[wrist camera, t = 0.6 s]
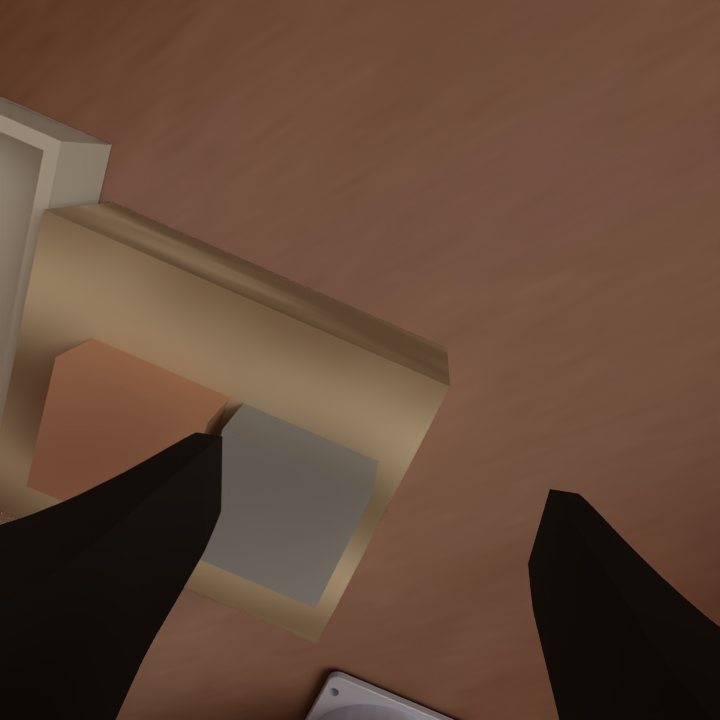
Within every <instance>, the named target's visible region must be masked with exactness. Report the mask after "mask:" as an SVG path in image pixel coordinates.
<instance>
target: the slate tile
mask: <svg viewBox="0 0 720 720" xmlns="http://www.w3.org/2000/svg"><path fill="white" fill-rule="evenodd" d="M221 436H223V437H222V498H221V513H220V516H219V518H218V521H217V523H216V526H215V528H214V531H213V533H212V536H211V538H210V540H209V543H208V545H207V547H206V549H205V552H204V553H203V555H202V557H201V559H200V560H202V561H204V562H207V563H209V564H212V565H214V566H216V567H219V568H221V569H223V570H226V571H228V572H230V573H233V574H235V575H238V576H240V577H242V578H245V579H247V580H249V581H252V582H254V583H256V584H259V585H261V586H263V587H266V588H268V589H271V590H273V591H275V592H278V593H280V594H282V595H285V596H287V597H289V598H292V599H294V600H297V601H299V602H301V603H304V604H306V605H308V606H311V607H313V608H316V606H317V604H318V602H319V600H320V598H321V596H322V594H323V592H324V590H325V588H326V586H327V584H328V582H329V580H330V578H331V576H332V574H333V572H334V570H335V568H336V566H337V564H338V562H339V560H340V558H341V556H342V554H343V552H344V550H345V548H346V546H347V544H348V542H349V540H350V538H351V536H352V534H353V532H354V530H355V528H356V526H357V524H358V522H359V520H360V518H361V516H362V514H363V512H364V510H365V508H366V506H367V504H368V502H369V500H370V498H371V496H372V494H373V490H374V485H375V479H376V473H377V467H378V462H379V461H376V460H374V459H372V458H369V457H367V456H365V455H363V454H360V453H358V452H356V451H353V450H351V449H349V448H346V447H344V446H342V445H339V444H337V443H335V442H332V441H330V440H328V439H325V438H323V437H321V436H318V435H316V434H314V433H311V432H309V431H307V430H304V429H302V428H300V427H298V426H295V425H293V424H291V423H288V422H286V421H284V420H281V419H279V418H277V417H274V416H272V415H270V414H267V413H265V412H263V411H260V410H258V409H256V408H253V407H251V406H249V405H246V404H244V403H243V404H242V406H241V407H240V408H239V409H238V411H237V412H236V413H235V414H234V416H233V417H232V418H231V419H230V421H229V422H228V423H227V425H226V426H225V427H224V428H223V430H222V433H221Z"/></svg>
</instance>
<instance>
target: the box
mask: <svg viewBox="0 0 720 720" xmlns="http://www.w3.org/2000/svg"><path fill="white" fill-rule="evenodd" d="M110 150H111V145H110V144H108V143H106V142H103V141H101V140H99V139H96V138H94V137H92V136H90V135H87V134H85V133H83V132H81V131H78V130H76V129H74V128H71V127H69V126H67V125H65V124H62V123H60V122H58V121H55V120H53V119H51V118H49V117H46V116H44V115H42V114H40V113H37V112H35V111H33V110H30V109H28V108H26V107H24V106H21V105H19V104H17V103H15V102H12V101H10V100H8V99H5V98H3V97H1V96H0V427H1V422H2V417H3V412H4V407H5V402H6V397H7V392H8V387H9V382H10V377H11V372H12V367H13V362H14V357H15V352H16V346H17V341H18V336H19V331H20V326H21V321H22V316H23V311H24V306H25V301H26V296H27V291H28V286H29V281H30V276H31V271H32V266H33V261H34V256H35V251H36V246H37V241H38V236H39V231H40V225H41V220H42V215H43V210H44V209H54V208H63V207H73V206H82V205H91V204H98V201H99V197H100V193H101V188H102V184H103V180H104V175H105V171H106V167H107V163H108V158H109V154H110Z"/></svg>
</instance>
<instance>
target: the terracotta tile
mask: <svg viewBox="0 0 720 720" xmlns="http://www.w3.org/2000/svg"><path fill="white" fill-rule="evenodd" d="M229 398H230V397H228V396H226V395H223V394H221V393H219V392H216V391H214V390H212V389H209V388H207V387H205V386H202V385H200V384H198V383H195V382H193V381H191V380H188V379H186V378H184V377H182V376H179V375H177V374H175V373H172V372H170V371H168V370H165V369H163V368H161V367H158V366H156V365H154V364H151V363H149V362H147V361H144V360H142V359H140V358H137V357H135V356H133V355H130V354H128V353H126V352H123V351H121V350H119V349H117V348H114V347H112V346H110V345H107V344H105V343H103V342H100V341H98V340H96V339H91V340H89V341H87V342H85V343H83V344H81V345H79V346H77V347H75V348H73V349H71V350H69V351H67V352H65V353H63V354H61V355H59V356H57V357H56V358H55V363H54V367H53V371H52V376H51V380H50V384H49V389H48V393H47V398H46V402H45V406H44V411H43V415H42V420H41V424H40V428H39V433H38V437H37V442H36V446H35V450H34V455H33V459H32V464H31V468H30V472H29V477H28V481H27V487H30V488H32V489H34V490H37V491H39V492H42V493H44V494H46V495H49V496H51V497H53V498H56V499H58V500H60V501H65V500H68V499H70V498H72V497H75V496H77V495H79V494H81V493H83V492H85V491H87V490H89V489H91V488H93V487H95V486H97V485H99V484H101V483H103V482H105V481H107V480H109V479H111V478H113V477H115V476H117V475H119V474H121V473H123V472H125V471H127V470H129V469H131V468H132V467H134V466H136V465H138V464H140V463H141V462H143V461H145V460H147V459H149V458H150V457H152V456H154V455H156V454H157V453H159V452H161V451H163V450H164V449H166V448H168V447H170V446H171V445H173V444H175V443H177V442H178V441H180V440H182V439H184V438H186V437H187V436H189V435H191V434H193V433H195V432H198V433H204V434H211V435H216V434H217V432H218V429H219V426H220V423H221V420H222V418H223V415H224V412H225V409H226V407H227V404H228V401H229Z"/></svg>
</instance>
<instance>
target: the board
mask: <svg viewBox="0 0 720 720" xmlns="http://www.w3.org/2000/svg"><path fill="white" fill-rule="evenodd" d="M91 339H96V340H98V341H100V342H103V343H105V344H107V345H110V346H112V347H114V348H117V349H119V350H121V351H123V352H126V353H128V354H130V355H133V356H135V357H137V358H140V359H142V360H144V361H147V362H149V363H151V364H154V365H156V366H158V367H161V368H163V369H165V370H168V371H170V372H172V373H175V374H177V375H179V376H182V377H184V378H186V379H188V380H191V381H193V382H195V383H198V384H200V385H202V386H205V387H207V388H209V389H212V390H214V391H216V392H219V393H221V394H223V395H226V396H228V397H230V398H229V401H228V404H227V407H226V409H225V412H224V415H223V418H222V420H221V423H220V426H219V429H218V432H217V434H216V435H217V436H221V433H222V430H223V428H224V427H225V426H226V425H227V423H228V422H229V421H230V419H231V418H232V417H233V416H234V414H235V413H236V412H237V411H238V409H239V408H240V407H241V406H242V404H243V403H244V404H246V405H249V406H251V407H253V408H256V409H258V410H260V411H263V412H265V413H267V414H270V415H272V416H274V417H277V418H279V419H281V420H284V421H286V422H288V423H291V424H293V425H295V426H298V427H300V428H302V429H304V430H307V431H309V432H311V433H314V434H316V435H318V436H321V437H323V438H325V439H328V440H330V441H332V442H335V443H337V444H339V445H342V446H344V447H346V448H349V449H351V450H353V451H356V452H358V453H360V454H363V455H365V456H367V457H369V458H372V459H374V460H376V461H379V462H378V467H377V473H376V479H375V485H374V490H373V494H372V496H371V498H370V500H369V502H368V504H367V506H366V508H365V510H364V512H363V514H362V516H361V518H360V520H359V522H358V524H357V526H356V528H355V530H354V532H353V534H352V536H351V538H350V540H349V542H348V544H347V546H346V548H345V550H344V552H343V554H342V556H341V558H340V560H339V562H338V564H337V566H336V568H335V570H334V572H333V574H332V576H331V578H330V580H329V582H328V584H327V586H326V588H325V590H324V592H323V594H322V596H321V598H320V600H319V602H318V604H317V606H316V608H313V607H311V606H308V605H306V604H304V603H301V602H299V601H297V600H294V599H292V598H289V597H287V596H285V595H282V594H280V593H278V592H275V591H273V590H271V589H268V588H266V587H263V586H261V585H259V584H256V583H254V582H252V581H249V580H247V579H245V578H242V577H240V576H238V575H235V574H233V573H230V572H228V571H226V570H223V569H221V568H219V567H216V566H214V565H212V564H209V563H207V562H204V561H202V560H199V562H198V564H197V566H196V567H195V569H194V571H193V573H192V574H191V576H190V578H189V580H188V581H187V583H186V585H185V586H184V588H186V589H188V590H191V591H193V592H196V593H198V594H200V595H203V596H205V597H207V598H210V599H212V600H214V601H217V602H219V603H222V604H224V605H226V606H229V607H231V608H233V609H236V610H238V611H241V612H243V613H245V614H248V615H250V616H252V617H255V618H257V619H260V620H262V621H264V622H267V623H269V624H271V625H274V626H276V627H278V628H281V629H283V630H286V631H288V632H290V633H293V634H295V635H297V636H300V637H302V638H305V639H307V640H309V641H312V642H314V643H316V644H317V643H318V641H319V639H320V637H321V635H322V633H323V631H324V629H325V627H326V625H327V623H328V621H329V619H330V618H331V616H332V614H333V612H334V610H335V608H336V606H337V604H338V602H339V600H340V598H341V596H342V594H343V592H344V590H345V589H346V587H347V585H348V583H349V581H350V579H351V577H352V575H353V573H354V571H355V569H356V567H357V565H358V563H359V562H360V560H361V558H362V556H363V554H364V552H365V550H366V548H367V546H368V544H369V542H370V540H371V538H372V536H373V535H374V533H375V531H376V529H377V527H378V525H379V523H380V521H381V519H382V517H383V515H384V513H385V511H386V509H387V508H388V506H389V504H390V502H391V500H392V498H393V496H394V494H395V492H396V490H397V488H398V486H399V484H400V482H401V481H402V479H403V477H404V475H405V473H406V471H407V469H408V467H409V465H410V463H411V461H412V459H413V457H414V455H415V453H416V452H417V450H418V448H419V446H420V444H421V442H422V440H423V438H424V436H425V434H426V432H427V430H428V428H429V426H430V425H431V423H432V421H433V419H434V417H435V415H436V413H437V411H438V409H439V407H440V405H441V403H442V401H443V399H444V398H445V396H446V394H447V392H448V390H449V388H450V379H449V369H448V358H447V349H446V348H444V347H441V346H439V345H437V344H435V343H432V342H430V341H428V340H425V339H423V338H421V337H419V336H416V335H414V334H412V333H409V332H407V331H405V330H403V329H400V328H398V327H396V326H393V325H391V324H389V323H387V322H384V321H382V320H380V319H377V318H375V317H373V316H371V315H368V314H366V313H364V312H361V311H359V310H357V309H355V308H352V307H350V306H348V305H345V304H343V303H341V302H339V301H336V300H334V299H332V298H329V297H327V296H325V295H323V294H320V293H318V292H316V291H313V290H311V289H309V288H306V287H304V286H302V285H300V284H297V283H295V282H293V281H290V280H288V279H286V278H284V277H281V276H279V275H277V274H274V273H272V272H270V271H268V270H265V269H263V268H261V267H258V266H256V265H254V264H252V263H249V262H247V261H245V260H242V259H240V258H238V257H236V256H233V255H231V254H229V253H226V252H224V251H222V250H220V249H217V248H215V247H213V246H210V245H208V244H206V243H204V242H201V241H199V240H197V239H194V238H192V237H190V236H187V235H185V234H183V233H181V232H178V231H176V230H174V229H171V228H169V227H167V226H165V225H162V224H160V223H158V222H155V221H153V220H151V219H149V218H146V217H144V216H142V215H139V214H137V213H135V212H133V211H130V210H128V209H126V208H123V207H121V206H119V205H117V204H114V203H112V202H110V203H101V204H91V205H82V206H73V207H63V208H54V209H44V210H43V215H42V220H41V225H40V231H39V236H38V241H37V246H36V251H35V256H34V261H33V266H32V271H31V276H30V281H29V286H28V291H27V296H26V301H25V306H24V311H23V316H22V321H21V326H20V331H19V336H18V341H17V346H16V352H15V357H14V362H13V367H12V372H11V377H10V382H9V387H8V392H7V397H6V402H5V407H4V412H3V417H2V422H1V427H0V510H1V511H4V512H6V513H8V514H11V515H13V516H15V517H18V518H23V517H25V516H28V515H31V514H34V513H36V512H39V511H41V510H44V509H46V508H49V507H51V506H54V505H56V504H59V503H61V502H63V501H60V500H58V499H56V498H53V497H51V496H49V495H46V494H44V493H42V492H39V491H37V490H34V489H32V488H30V487H27V481H28V477H29V472H30V468H31V464H32V459H33V455H34V450H35V446H36V442H37V437H38V433H39V428H40V424H41V420H42V415H43V411H44V406H45V402H46V398H47V393H48V389H49V384H50V380H51V376H52V371H53V367H54V363H55V358H56V357H57V356H59V355H61V354H63V353H65V352H67V351H69V350H71V349H73V348H75V347H77V346H79V345H81V344H83V343H85V342H87V341H89V340H91Z"/></svg>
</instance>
